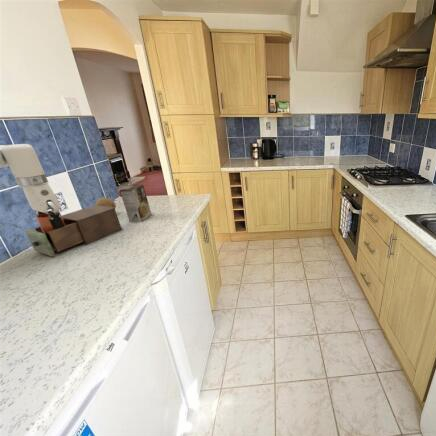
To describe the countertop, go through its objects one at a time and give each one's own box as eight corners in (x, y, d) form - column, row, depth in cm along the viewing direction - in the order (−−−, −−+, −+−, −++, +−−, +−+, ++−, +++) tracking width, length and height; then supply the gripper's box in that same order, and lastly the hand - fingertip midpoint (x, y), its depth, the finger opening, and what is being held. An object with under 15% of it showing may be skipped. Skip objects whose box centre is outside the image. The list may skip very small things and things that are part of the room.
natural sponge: (120, 215, 126) (114, 197, 122) (100, 220, 120) (92, 202, 116) (116, 211, 132) (110, 193, 128) (96, 216, 126) (89, 198, 122)
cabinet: (86, 244, 98) (76, 220, 94) (68, 239, 103) (58, 216, 98) (122, 229, 110) (114, 207, 106) (104, 225, 115) (96, 204, 111)
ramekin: (60, 225, 97) (53, 210, 94) (70, 227, 95) (63, 212, 92) (39, 232, 91) (31, 216, 89) (49, 235, 89) (41, 218, 86)
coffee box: (140, 214, 127) (131, 184, 120) (152, 214, 127) (143, 184, 120) (128, 221, 118) (118, 190, 112) (141, 221, 118) (132, 189, 112)
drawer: (47, 258, 87) (36, 236, 84) (30, 252, 92) (19, 231, 88) (91, 239, 100) (83, 220, 96) (74, 235, 104) (66, 216, 100)
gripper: (59, 180, 85) (78, 225, 92) (33, 176, 92) (52, 219, 99) (31, 185, 79) (54, 234, 86) (5, 181, 85) (28, 227, 92)
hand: (53, 226), depth 92 cm, fingers closed on ramekin, 6 cm apart
